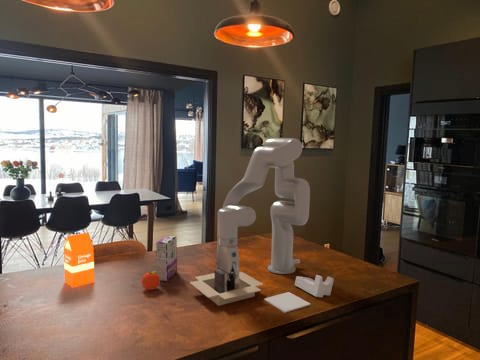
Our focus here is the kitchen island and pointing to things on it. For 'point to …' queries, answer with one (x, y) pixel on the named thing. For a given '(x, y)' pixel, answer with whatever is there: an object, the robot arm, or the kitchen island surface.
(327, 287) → the bracket
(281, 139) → the robot arm
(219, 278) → the birch box
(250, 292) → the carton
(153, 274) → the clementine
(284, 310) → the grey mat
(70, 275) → the orange juice
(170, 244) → the candy bar box
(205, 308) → the kitchen island surface
